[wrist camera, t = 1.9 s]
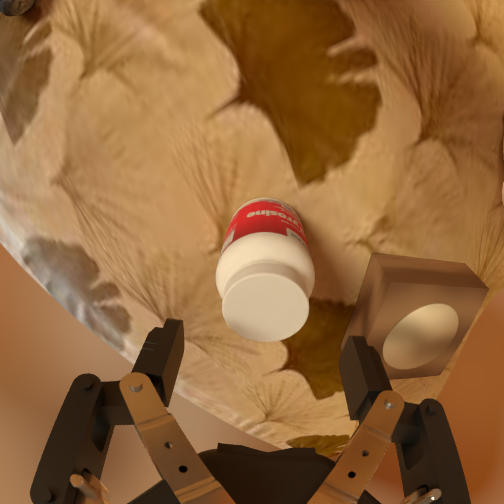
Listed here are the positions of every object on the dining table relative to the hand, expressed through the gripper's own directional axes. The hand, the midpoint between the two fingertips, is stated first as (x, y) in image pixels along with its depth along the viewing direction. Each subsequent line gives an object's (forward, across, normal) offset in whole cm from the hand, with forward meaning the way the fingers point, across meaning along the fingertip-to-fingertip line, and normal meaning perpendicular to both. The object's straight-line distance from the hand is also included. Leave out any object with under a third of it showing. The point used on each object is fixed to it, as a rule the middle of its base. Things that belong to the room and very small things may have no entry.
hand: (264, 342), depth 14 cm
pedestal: (+13, -16, +7) cm, 22 cm away
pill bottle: (+13, 0, 0) cm, 13 cm away
